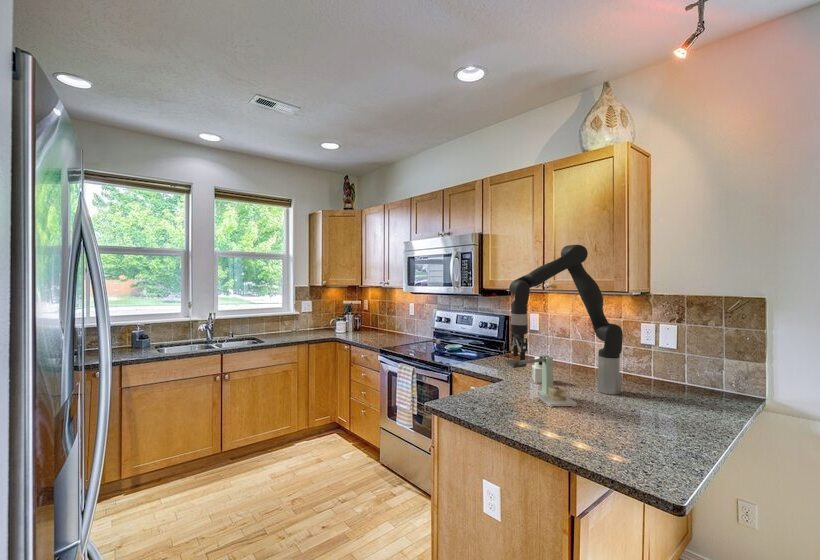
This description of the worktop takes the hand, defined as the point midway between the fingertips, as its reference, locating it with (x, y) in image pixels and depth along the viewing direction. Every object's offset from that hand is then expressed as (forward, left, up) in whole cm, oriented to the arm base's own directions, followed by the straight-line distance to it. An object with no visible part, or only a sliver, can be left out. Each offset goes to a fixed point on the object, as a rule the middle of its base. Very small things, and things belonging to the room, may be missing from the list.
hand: (518, 358), depth 180 cm
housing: (-14, +10, -16) cm, 24 cm away
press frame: (-14, +6, -18) cm, 23 cm away
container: (-21, -22, -18) cm, 36 cm away
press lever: (-6, 0, -3) cm, 6 cm away
